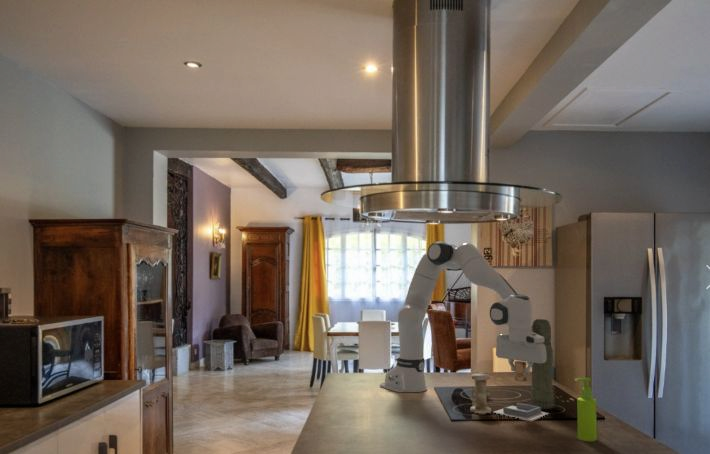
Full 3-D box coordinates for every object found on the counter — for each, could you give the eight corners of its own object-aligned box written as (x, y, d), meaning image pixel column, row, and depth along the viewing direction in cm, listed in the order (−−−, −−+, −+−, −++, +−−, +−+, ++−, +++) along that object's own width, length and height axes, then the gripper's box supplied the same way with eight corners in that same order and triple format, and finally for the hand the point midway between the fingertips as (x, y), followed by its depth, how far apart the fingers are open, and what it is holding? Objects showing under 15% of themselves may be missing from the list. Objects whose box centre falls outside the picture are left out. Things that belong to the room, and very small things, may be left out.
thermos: (526, 407, 238) (525, 320, 240) (536, 401, 248) (535, 318, 249) (548, 411, 233) (547, 321, 235) (557, 405, 242) (556, 319, 244)
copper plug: (512, 380, 229) (512, 361, 229) (518, 378, 232) (518, 360, 232) (522, 381, 226) (522, 363, 226) (528, 380, 229) (528, 362, 229)
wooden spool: (466, 411, 232) (466, 375, 232) (477, 407, 237) (477, 372, 238) (484, 415, 226) (483, 378, 227) (495, 411, 232) (494, 375, 232)
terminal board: (493, 413, 229) (493, 406, 229) (511, 407, 239) (511, 400, 239) (531, 421, 218) (531, 414, 218) (549, 414, 227) (548, 407, 228)
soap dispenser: (571, 436, 200) (571, 376, 201) (591, 435, 200) (590, 376, 201) (579, 441, 194) (578, 380, 195) (600, 441, 194) (599, 380, 195)
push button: (491, 395, 258) (491, 372, 259) (487, 398, 254) (487, 374, 254) (477, 393, 262) (477, 371, 262) (472, 396, 257) (472, 373, 258)
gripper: (492, 334, 235) (492, 369, 234) (540, 339, 220) (540, 377, 220) (501, 333, 239) (501, 367, 239) (548, 338, 225) (548, 374, 224)
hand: (520, 372), depth 229 cm, fingers closed on copper plug, 4 cm apart
